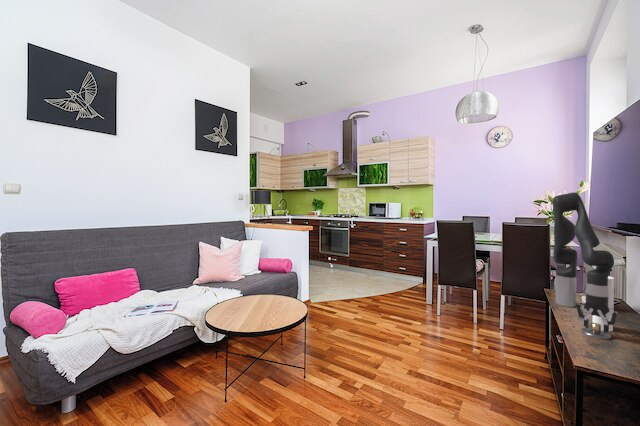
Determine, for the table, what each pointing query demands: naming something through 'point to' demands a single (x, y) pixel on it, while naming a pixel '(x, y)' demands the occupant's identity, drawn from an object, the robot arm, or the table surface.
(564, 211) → the robot arm
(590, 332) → the lid
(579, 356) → the table surface
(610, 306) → the cylindrical container
